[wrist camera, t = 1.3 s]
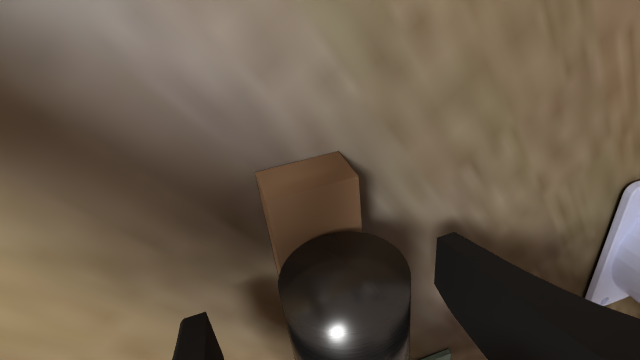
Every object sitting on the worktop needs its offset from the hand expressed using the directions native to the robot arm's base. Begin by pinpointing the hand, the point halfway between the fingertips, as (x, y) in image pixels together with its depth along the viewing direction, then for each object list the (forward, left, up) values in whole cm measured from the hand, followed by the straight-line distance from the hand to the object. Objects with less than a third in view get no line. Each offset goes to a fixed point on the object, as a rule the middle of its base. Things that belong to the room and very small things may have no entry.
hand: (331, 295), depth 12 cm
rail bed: (0, +2, -2) cm, 3 cm away
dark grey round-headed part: (0, +3, -2) cm, 4 cm away
